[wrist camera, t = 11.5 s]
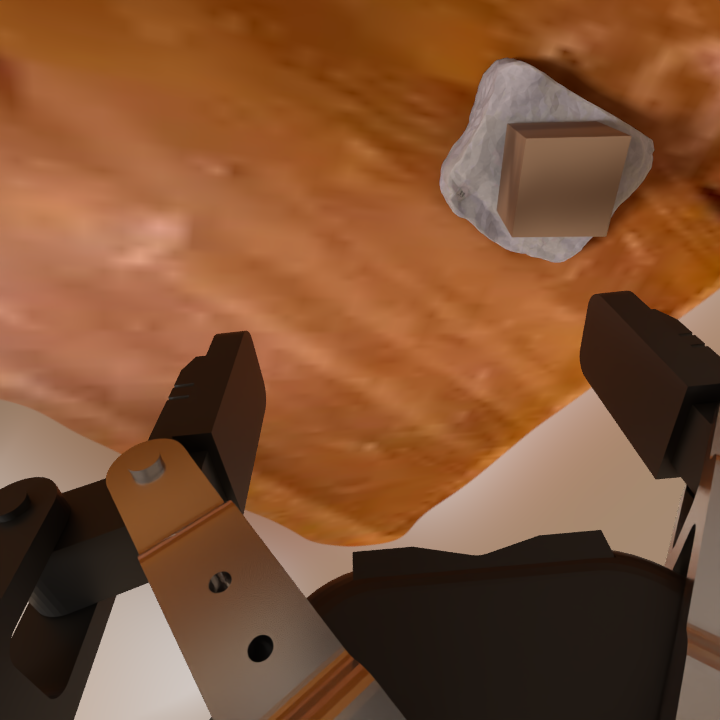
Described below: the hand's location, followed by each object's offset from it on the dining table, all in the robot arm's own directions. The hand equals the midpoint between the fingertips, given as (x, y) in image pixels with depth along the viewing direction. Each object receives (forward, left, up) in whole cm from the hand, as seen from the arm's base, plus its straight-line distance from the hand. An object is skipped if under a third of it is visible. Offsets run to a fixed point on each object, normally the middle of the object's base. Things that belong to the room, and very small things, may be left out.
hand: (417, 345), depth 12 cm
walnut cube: (+1, +10, -21) cm, 23 cm away
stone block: (+2, +11, -25) cm, 27 cm away
